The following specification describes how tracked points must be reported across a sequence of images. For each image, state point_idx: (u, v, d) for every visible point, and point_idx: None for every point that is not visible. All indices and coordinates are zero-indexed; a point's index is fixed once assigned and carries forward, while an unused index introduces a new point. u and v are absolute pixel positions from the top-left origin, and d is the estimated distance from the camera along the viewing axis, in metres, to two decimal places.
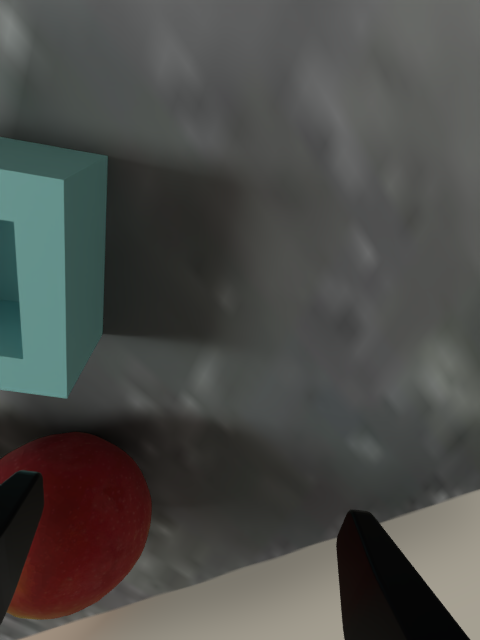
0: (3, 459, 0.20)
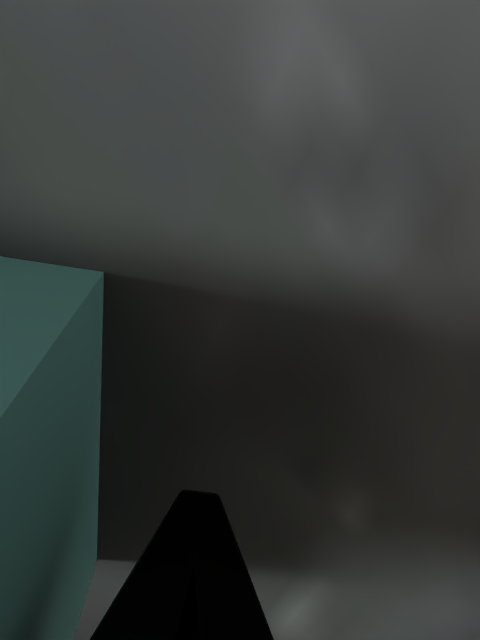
0: None
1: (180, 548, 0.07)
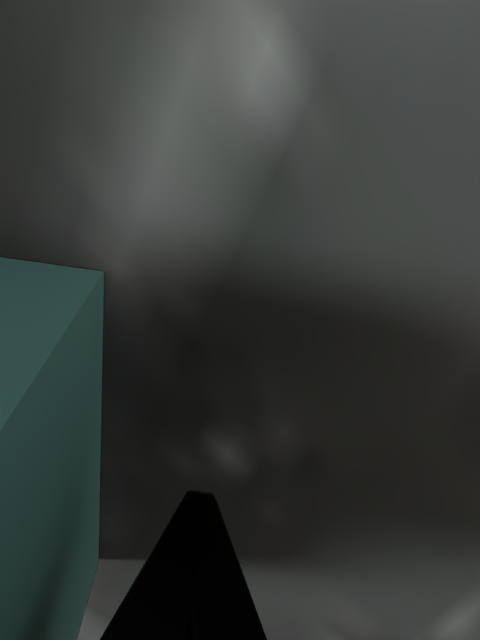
0: None
1: (188, 549, 0.07)
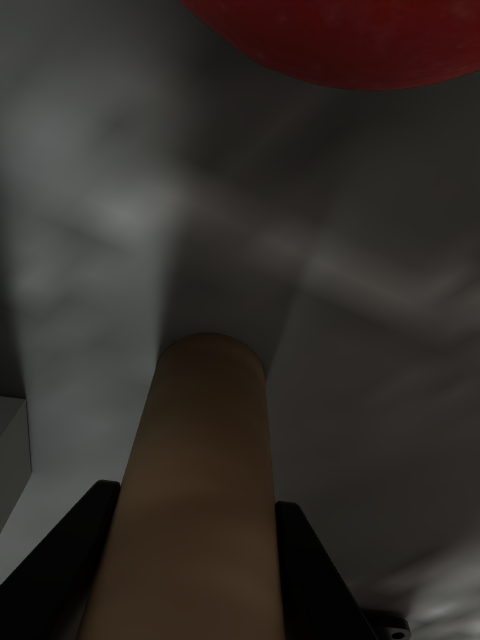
0: None
1: (81, 537, 0.07)
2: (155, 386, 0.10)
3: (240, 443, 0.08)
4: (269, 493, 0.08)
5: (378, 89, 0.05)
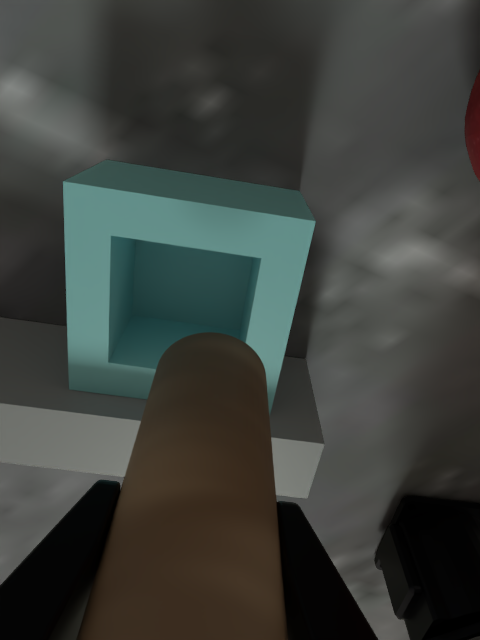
0: (474, 167, 0.14)
1: (81, 537, 0.07)
2: (156, 385, 0.10)
3: (241, 442, 0.08)
4: (271, 492, 0.08)
5: None
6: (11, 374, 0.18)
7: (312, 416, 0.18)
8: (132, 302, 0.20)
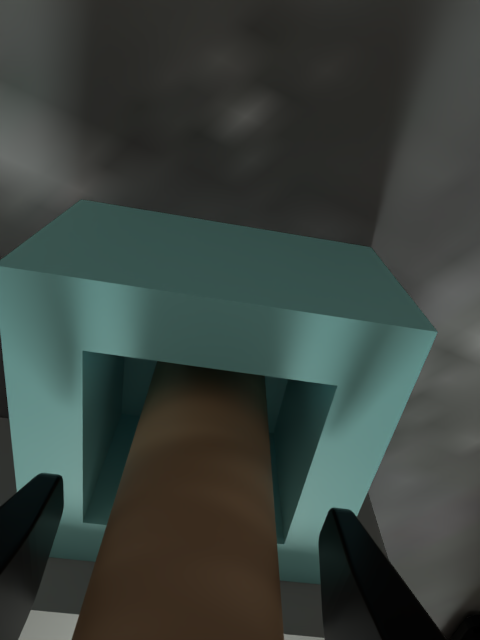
0: None
1: (10, 530, 0.07)
2: None
3: (239, 398, 0.09)
4: (265, 441, 0.09)
5: None
6: None
7: None
8: (121, 398, 0.14)
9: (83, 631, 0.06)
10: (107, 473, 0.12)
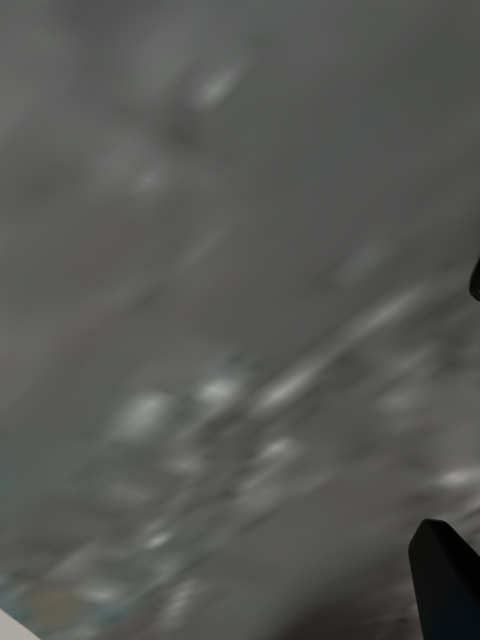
0: None
1: None
2: None
3: None
4: None
5: None
6: None
7: None
8: None
9: None
10: None
